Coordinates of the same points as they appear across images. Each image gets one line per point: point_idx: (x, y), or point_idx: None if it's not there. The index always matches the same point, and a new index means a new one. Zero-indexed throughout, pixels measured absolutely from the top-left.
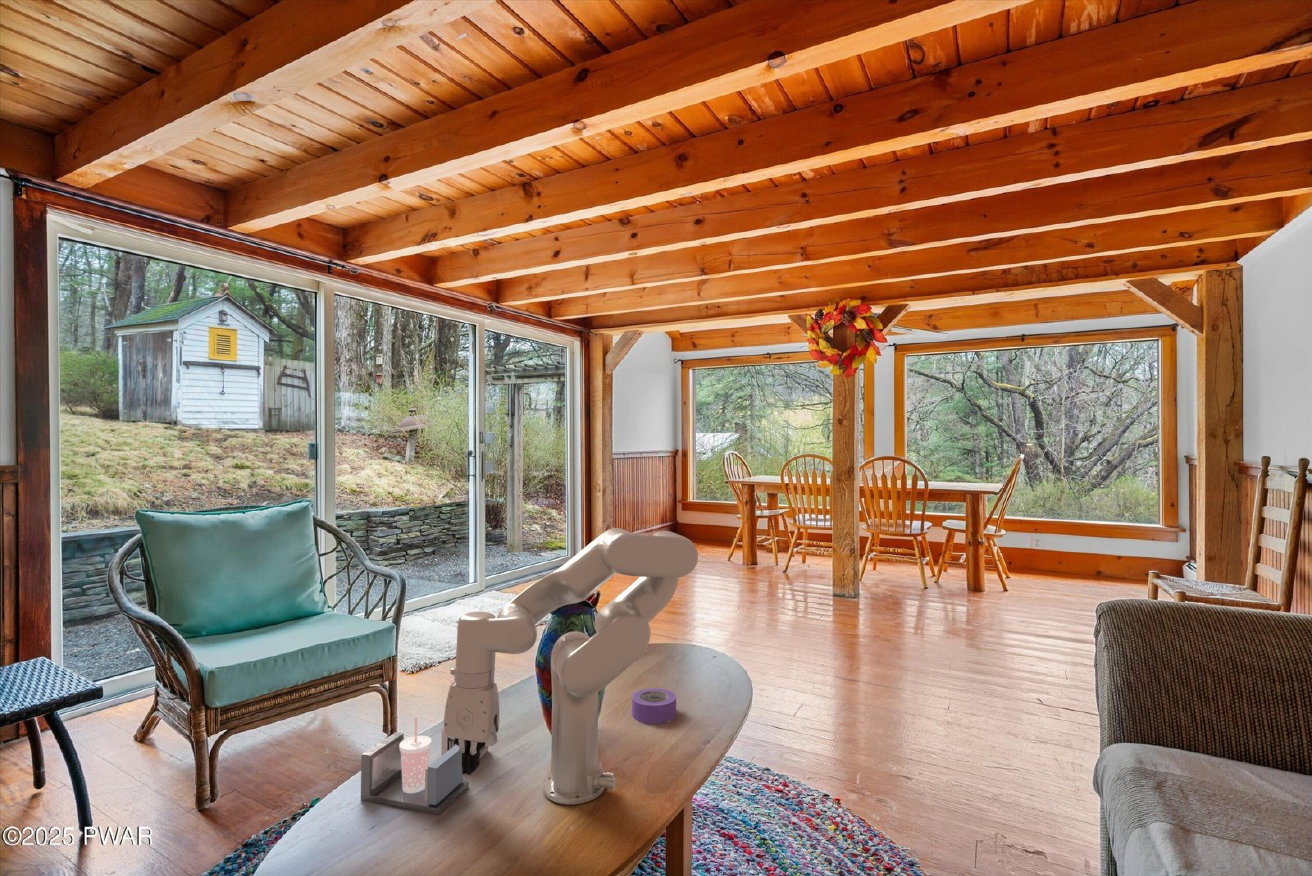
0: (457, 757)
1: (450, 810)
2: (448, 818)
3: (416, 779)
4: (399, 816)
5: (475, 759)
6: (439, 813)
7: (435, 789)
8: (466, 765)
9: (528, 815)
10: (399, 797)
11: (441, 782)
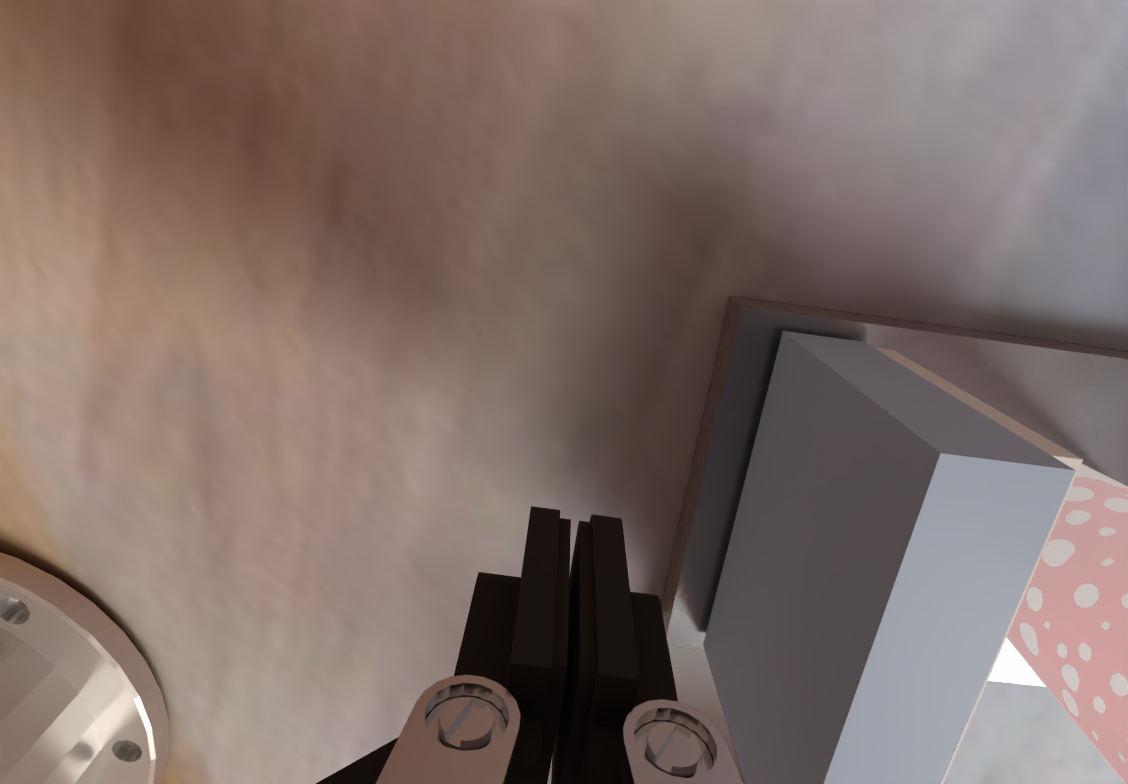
0: (789, 756)
1: (671, 365)
2: (643, 271)
3: (1072, 523)
4: (1022, 240)
5: (460, 651)
6: (731, 305)
7: (837, 368)
8: (576, 580)
9: (92, 391)
10: (1110, 399)
11: (817, 455)
